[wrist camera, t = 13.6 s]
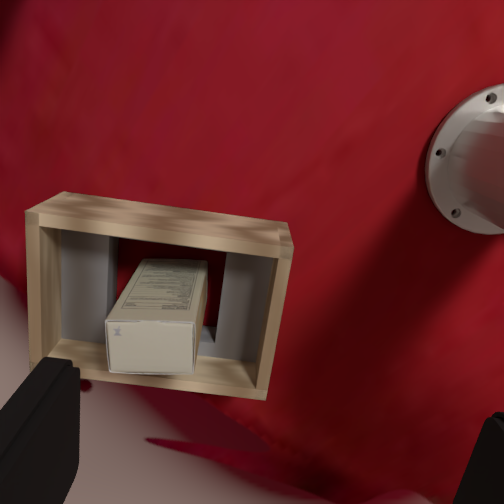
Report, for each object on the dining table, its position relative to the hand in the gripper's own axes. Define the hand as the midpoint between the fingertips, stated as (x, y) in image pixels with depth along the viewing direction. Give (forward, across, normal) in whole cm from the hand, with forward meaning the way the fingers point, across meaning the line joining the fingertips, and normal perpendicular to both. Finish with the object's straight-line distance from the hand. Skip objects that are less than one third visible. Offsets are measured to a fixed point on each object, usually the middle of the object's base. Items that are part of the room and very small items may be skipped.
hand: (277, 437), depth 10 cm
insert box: (+30, +7, +10) cm, 33 cm away
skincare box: (+31, +6, +10) cm, 33 cm away
